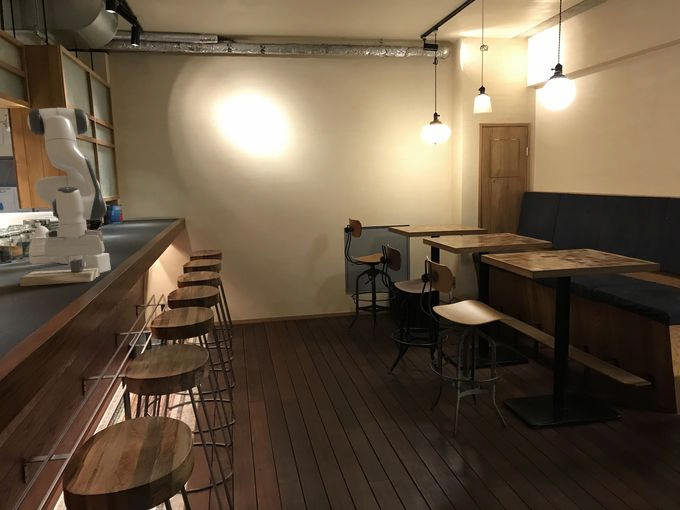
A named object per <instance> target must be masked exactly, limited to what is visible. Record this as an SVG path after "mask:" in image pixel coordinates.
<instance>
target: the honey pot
mask: <svg viewBox="0 0 680 510" xmlns="http://www.w3.org/2000/svg"><path fill="white" fill-rule="evenodd" d="M34 226H35V227H36V229H35V231H34V233H33V234H32V236H29V237H28V238H29V240H31V242H30V243H29V250H28V259H29V264H32V265H34V264H35V265H39V264H40V265H41V264H50V263H55V260H58V257H47V256H46V255H45V240H46V239H47V237H46V235H45V233H46V232H48V231H50V230H49V229H48V228H47V227H46V226H43V225H41V222H34Z"/></svg>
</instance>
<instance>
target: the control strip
mask: <svg viewBox="0 0 680 510" xmlns="http://www.w3.org/2000/svg"><path fill="white" fill-rule="evenodd" d="M100 275H101V273H100V270H99V268H84V269H83V270H81V271H80V272H71V268H68V269H54V270H40V271H39V270H37V271H36V270H35V271H31V272H30V273H29V272H28V273H27V274H25V275H23V276H21V277H19V283H20V287H27V286H40V285H41V286H42V285H54V284H55V285H57V284H59V285H60V284H71V283H72V284H74V283H85V282H86V283H89V282H92V281H94V280H95V279H97V278H98V277H99V276H100ZM96 277H97V278H96Z"/></svg>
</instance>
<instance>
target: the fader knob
mask: <svg viewBox="0 0 680 510" xmlns="http://www.w3.org/2000/svg"><path fill="white" fill-rule="evenodd" d="M81 262H83V259H74V260H72V261H70V266H71V268H70V269H71V272H80V271H81V270H83V269H84V267H81V264H80V263H81Z"/></svg>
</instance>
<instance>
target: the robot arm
mask: <svg viewBox="0 0 680 510" xmlns="http://www.w3.org/2000/svg"><path fill="white" fill-rule="evenodd" d="M26 122H27V126H28V128H29V129H30V131H31V132H32V133H33V134H34V135H37V136H44V145H45V150H46V155H47V158H49V162H50V164H51V165H52V166H53V168H56V169H58V170H60V171H63V172H65V173H66V174H67V175H59V176H58V175H54V176H53V175H52V176H51V175H50V176H47V177H41V178H39V179H37V181H36V183H35V186H34V190H35V193H36V196H37V197H38V198H39V199H40V200H42V201H44V202H45V203H46V204H48V205H49V206H50V207H51V208H52V209H53V217H55V218H56V219H57V221H58V227H55V228H53V229H51V230H49V231H48V232H46V233H45V235H46V237H47V239H46V240H45V255H46V256H47V257H58V260H55V262H54V264H55V263H56V264H66V265H67V268H68V269H71V266H70V261H72V260H74V259H83V258H84V260H83V262H81V263H80V264H81V267H86V261H87V259H88V255H95V254H102V253H105V250H106V249H105V245H104V241H103V240H104V234H103V232H102V231H101V230H99V229H93V230H92V229H88V228H87V227H88V225H87V220H89V221H90V220H91V221H99V220H101V219H102V218H103V217H104V216H106V215H107V209H108V208H107V203H106V201H105V199H104V198H103V195H102V192H101V184H100V182H99V181H98V179H97V178H96V175H95V172H94V169H93V167H92V164H91V162H90V159H89V158H88V156H87V155H85V154H83V153H82V152H81V150H80V149H79V146H78V142H77V137H76V135H77V136H80V135H84V134H85V133H87V131H88V129H89V126H90V120H89V118H88V115H87V114H86V111H84V110H83V109H80V108H77V107H76V108H69V107H55V108H54V107H49V108H34V109H30V110H29V112H28V115H27V118H26Z"/></svg>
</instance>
